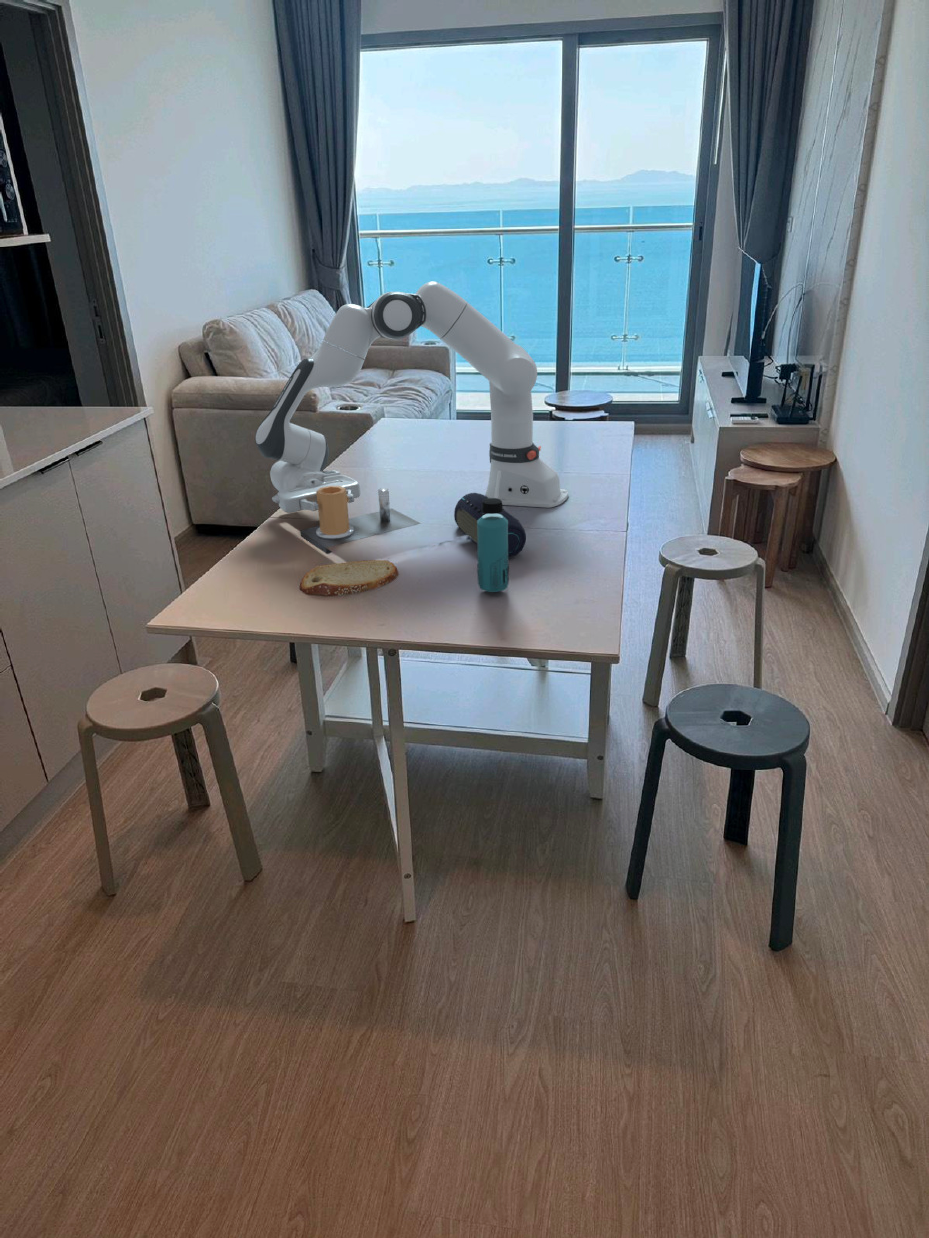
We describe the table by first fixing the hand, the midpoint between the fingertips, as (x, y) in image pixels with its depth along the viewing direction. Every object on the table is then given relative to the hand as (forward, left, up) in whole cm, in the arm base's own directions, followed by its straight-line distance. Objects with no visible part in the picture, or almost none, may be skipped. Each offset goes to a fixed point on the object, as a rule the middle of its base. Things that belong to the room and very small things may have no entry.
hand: (333, 503), depth 196 cm
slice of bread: (-15, +19, -10) cm, 27 cm away
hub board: (-3, -7, -9) cm, 12 cm away
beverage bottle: (-46, +13, -10) cm, 49 cm away
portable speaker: (-35, -11, -10) cm, 38 cm away
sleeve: (+1, 0, -7) cm, 7 cm away
